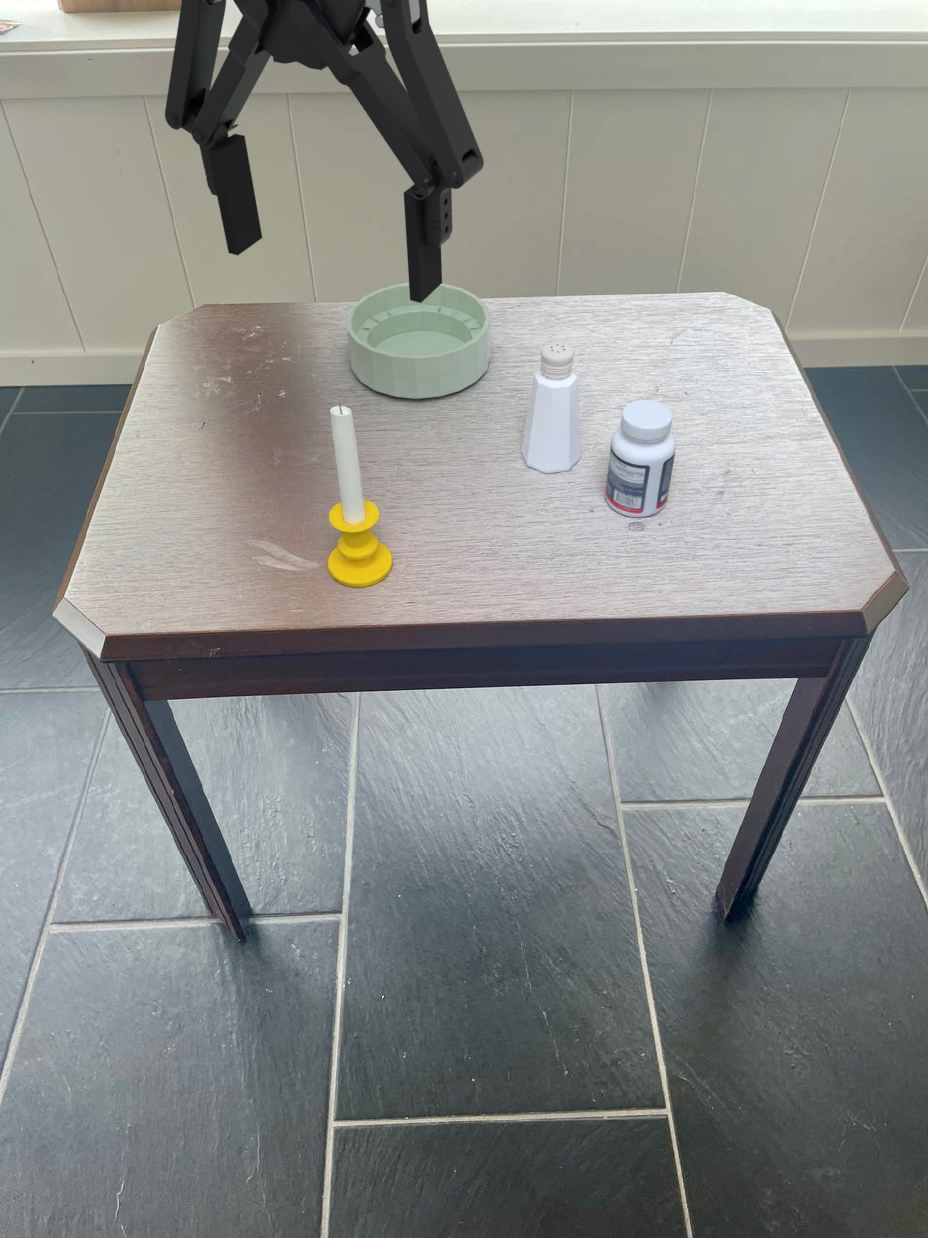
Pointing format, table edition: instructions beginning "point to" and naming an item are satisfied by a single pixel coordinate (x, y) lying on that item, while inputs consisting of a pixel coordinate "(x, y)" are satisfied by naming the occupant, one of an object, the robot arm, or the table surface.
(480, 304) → the bowl
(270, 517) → the table surface
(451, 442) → the table surface
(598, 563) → the table surface
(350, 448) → the candle
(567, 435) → the pepper shaker
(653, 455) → the pill bottle
